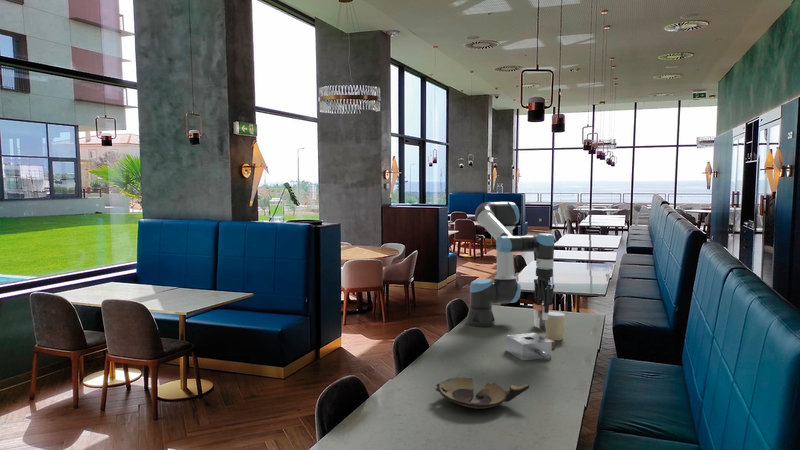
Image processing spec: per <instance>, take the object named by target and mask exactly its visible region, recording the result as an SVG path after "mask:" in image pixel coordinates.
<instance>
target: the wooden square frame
mask: <svg viewBox="0 0 800 450" xmlns="http://www.w3.org/2000/svg"><path fill="white" fill-rule="evenodd" d="M543 337H544V338H546V339H548V340H550V341H552V349H555V348H556V340H551V339H549V338H547V337H546V336H543Z"/></svg>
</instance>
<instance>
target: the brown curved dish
mask: <svg viewBox="0 0 800 450" xmlns="http://www.w3.org/2000/svg"><path fill="white" fill-rule="evenodd" d="M473 381H474V380H473V378H472V377H467V376H465V377H464V376H463V377H452V378H451V377H450V378H448V379H445V380H444V381H442V382H440V383H436V388H435V391H437V392H438V393H439V394H440V395H441V396H442V397H443V398H445V399H446V400H447V401H450V402H452V403H454V404H455V405H456V404H457V405H460V406H462V407H465V408H470V409H475V410H476V409H477V410H478V409H488V408H493V407H497V406H499V405H501V404H503V403H508V402H511V401H512V400H513V399H515V398H516V397H518V396H519V395H521V394H522V393H524V392H525V391H527V390H529V388H530V384H524V385H522V386H516V385H513V384H509V390H508V391H506V390H505V389H504V387H502V386H501V385H499V384H497V383H495V382H492V383H486V384H485V385H484V386H483V387H482V388H481V389H480V390H479V391H478V392H477V393H476V394H475V397H476V398H479V399H481V400H478V402H475V401H471V400H473V397H474V383H473ZM470 401H471V402H470Z"/></svg>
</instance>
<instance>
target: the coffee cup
mask: <svg viewBox="0 0 800 450" xmlns="http://www.w3.org/2000/svg"><path fill="white" fill-rule="evenodd" d="M565 321H566V314H565V313H564V312H561V311H549V312H548V320H546V328H545V337H547V338H549V339H551V340H553V341H562V340H563V339H564V332H565Z"/></svg>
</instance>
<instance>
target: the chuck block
mask: <svg viewBox="0 0 800 450" xmlns="http://www.w3.org/2000/svg"><path fill="white" fill-rule="evenodd" d="M544 337H545V336H542V335H540V334H538V333H536V332H528V333H526V332H525V333H515V334H507V335H506V346H505V347H506V348H505V351H506V352H507V353H510V354H511V355H513V356H514V357H516V358H517V359H518V360H519V359H520V360H521V361H522V362H523V361H530V360H531V361H532V360H540V359H541V360H542V359H546V360H547V361H549V360H551V359H552V349H553V348H552V341H550V340H548V339H546V338H544Z"/></svg>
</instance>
